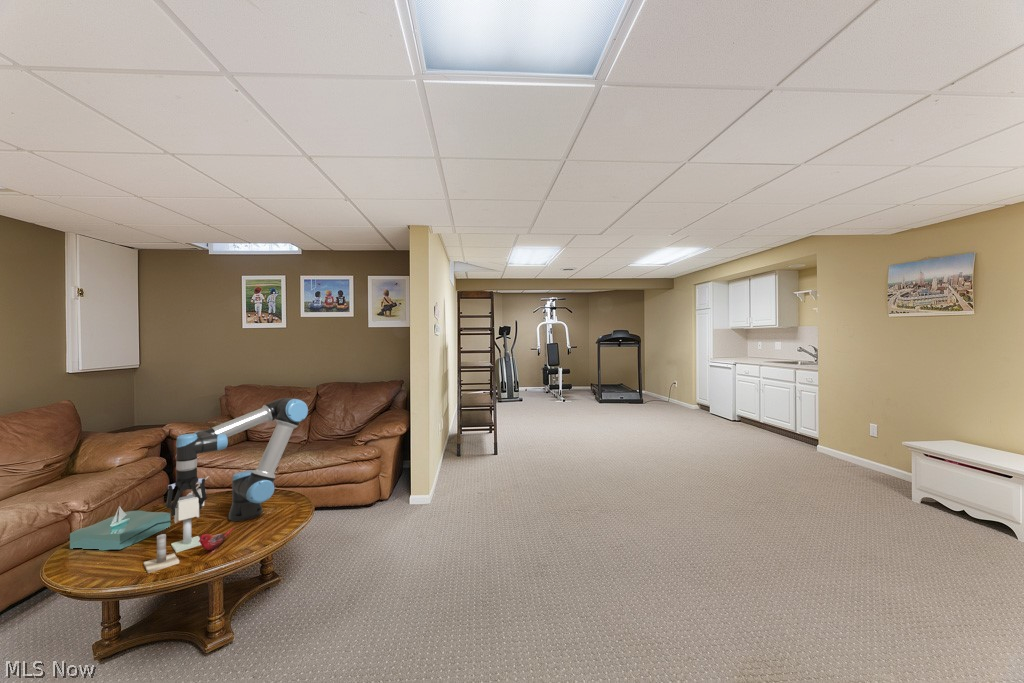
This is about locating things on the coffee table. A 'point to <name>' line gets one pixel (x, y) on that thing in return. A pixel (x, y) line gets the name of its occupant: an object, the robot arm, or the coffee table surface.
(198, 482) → the cricket player figurine
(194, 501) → the white drawer box
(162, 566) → the post
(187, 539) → the post
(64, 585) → the coffee table surface
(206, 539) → the decorative bird figurine
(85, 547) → the sailboat water diorama
